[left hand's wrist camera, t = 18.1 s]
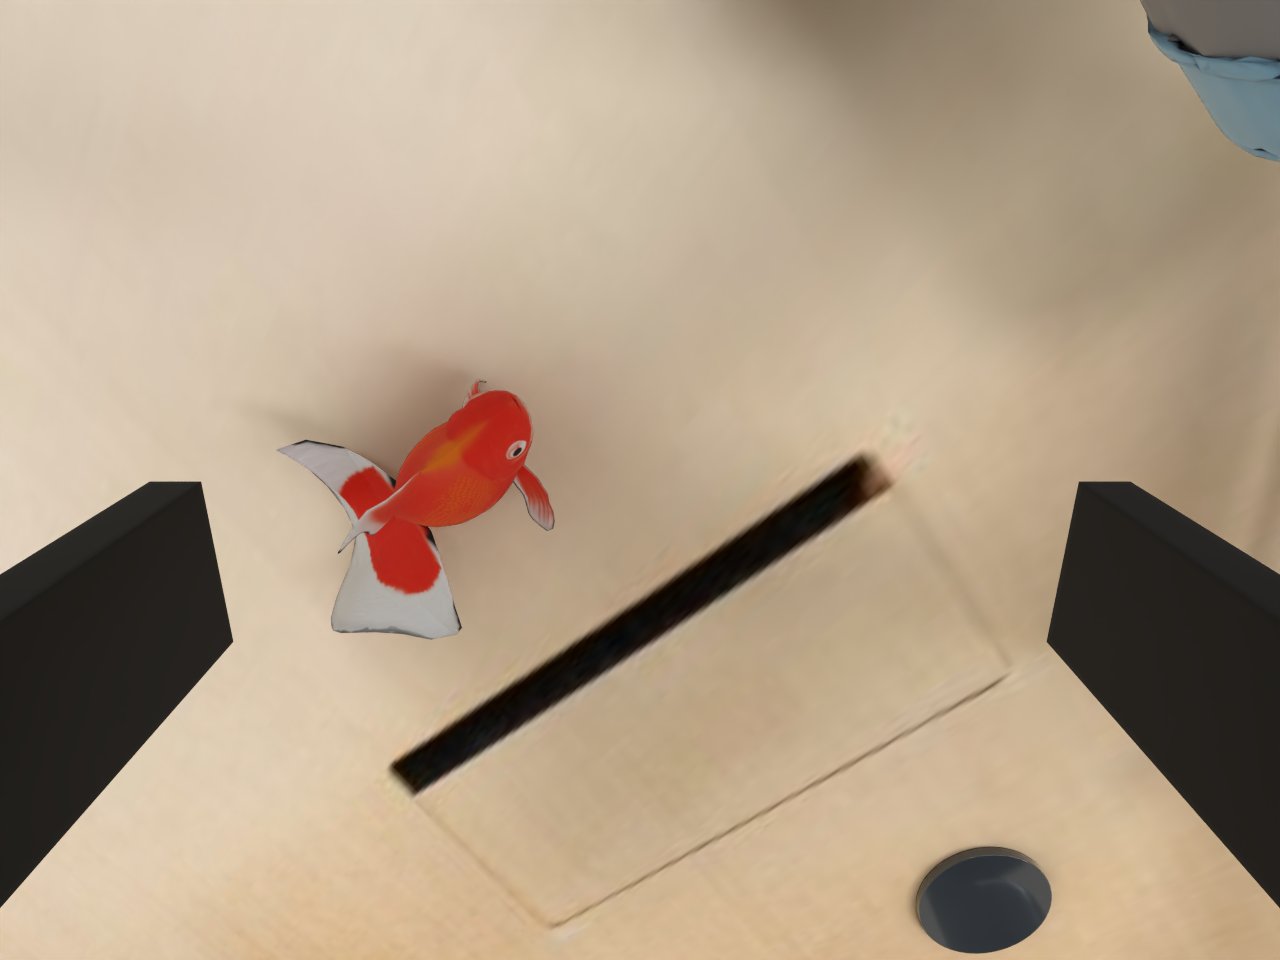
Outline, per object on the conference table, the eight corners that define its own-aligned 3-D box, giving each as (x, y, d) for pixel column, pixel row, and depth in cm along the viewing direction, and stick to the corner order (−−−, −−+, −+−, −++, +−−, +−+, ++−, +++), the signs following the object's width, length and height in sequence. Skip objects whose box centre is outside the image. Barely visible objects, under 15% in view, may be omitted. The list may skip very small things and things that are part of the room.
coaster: (924, 846, 49) (927, 854, 48) (1058, 846, 49) (1063, 854, 48) (908, 945, 51) (911, 953, 51) (1035, 945, 51) (1039, 953, 51)
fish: (656, 556, 37) (510, 640, 28) (440, 626, 45) (281, 706, 37) (566, 334, 37) (394, 355, 28) (367, 448, 45) (192, 489, 37)
